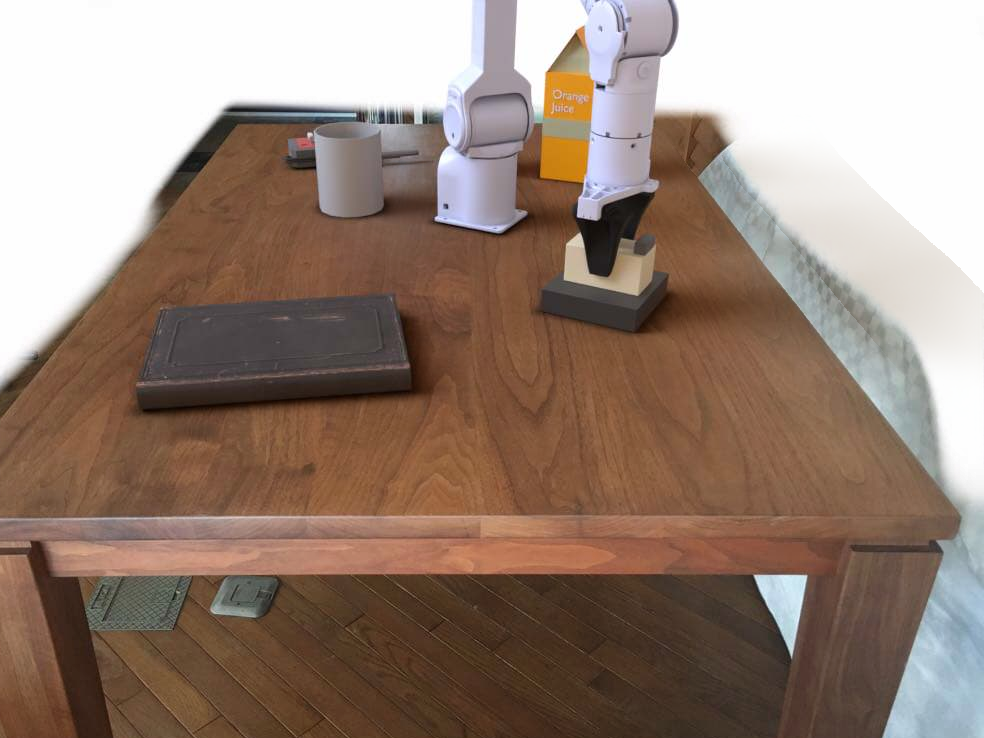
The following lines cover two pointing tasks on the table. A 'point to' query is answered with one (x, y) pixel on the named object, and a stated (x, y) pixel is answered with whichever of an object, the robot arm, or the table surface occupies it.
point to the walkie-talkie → (305, 152)
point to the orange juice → (567, 113)
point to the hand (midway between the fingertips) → (608, 266)
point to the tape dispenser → (628, 269)
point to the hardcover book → (274, 351)
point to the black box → (603, 302)
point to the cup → (349, 168)
